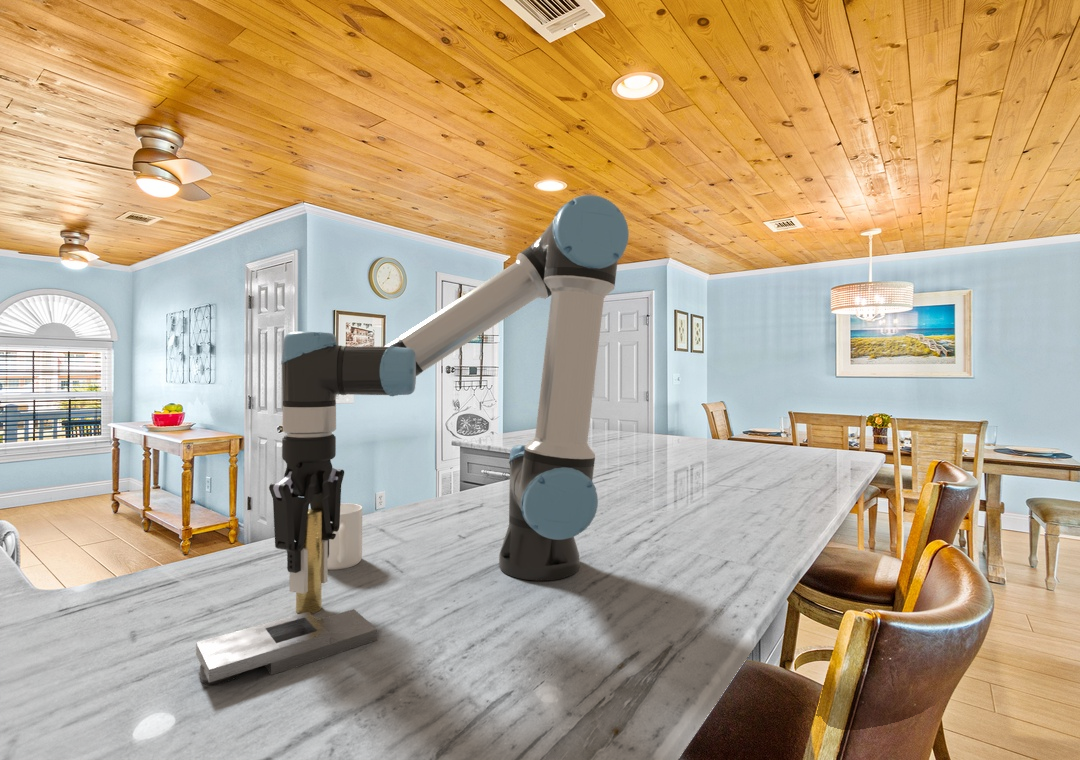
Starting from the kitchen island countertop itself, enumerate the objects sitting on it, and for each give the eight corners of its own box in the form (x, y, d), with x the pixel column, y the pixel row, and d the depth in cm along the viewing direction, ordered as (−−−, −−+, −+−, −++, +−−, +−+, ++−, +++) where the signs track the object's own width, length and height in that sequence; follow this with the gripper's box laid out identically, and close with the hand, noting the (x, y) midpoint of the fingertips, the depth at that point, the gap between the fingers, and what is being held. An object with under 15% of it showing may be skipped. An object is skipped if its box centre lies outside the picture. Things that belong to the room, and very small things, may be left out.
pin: (326, 606, 85) (327, 510, 85) (309, 616, 82) (310, 516, 82) (307, 602, 87) (308, 508, 86) (290, 612, 83) (290, 513, 83)
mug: (367, 573, 99) (367, 516, 99) (317, 580, 96) (317, 521, 95) (359, 552, 110) (359, 501, 110) (314, 558, 106) (314, 505, 106)
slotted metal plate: (353, 619, 81) (353, 599, 81) (377, 639, 75) (377, 618, 75) (194, 666, 68) (194, 642, 68) (207, 696, 62) (207, 670, 62)
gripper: (327, 427, 93) (326, 564, 93) (244, 438, 77) (244, 604, 78) (364, 429, 90) (363, 570, 91) (287, 442, 75) (287, 612, 75)
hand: (308, 585), depth 84 cm, fingers closed on pin, 4 cm apart
